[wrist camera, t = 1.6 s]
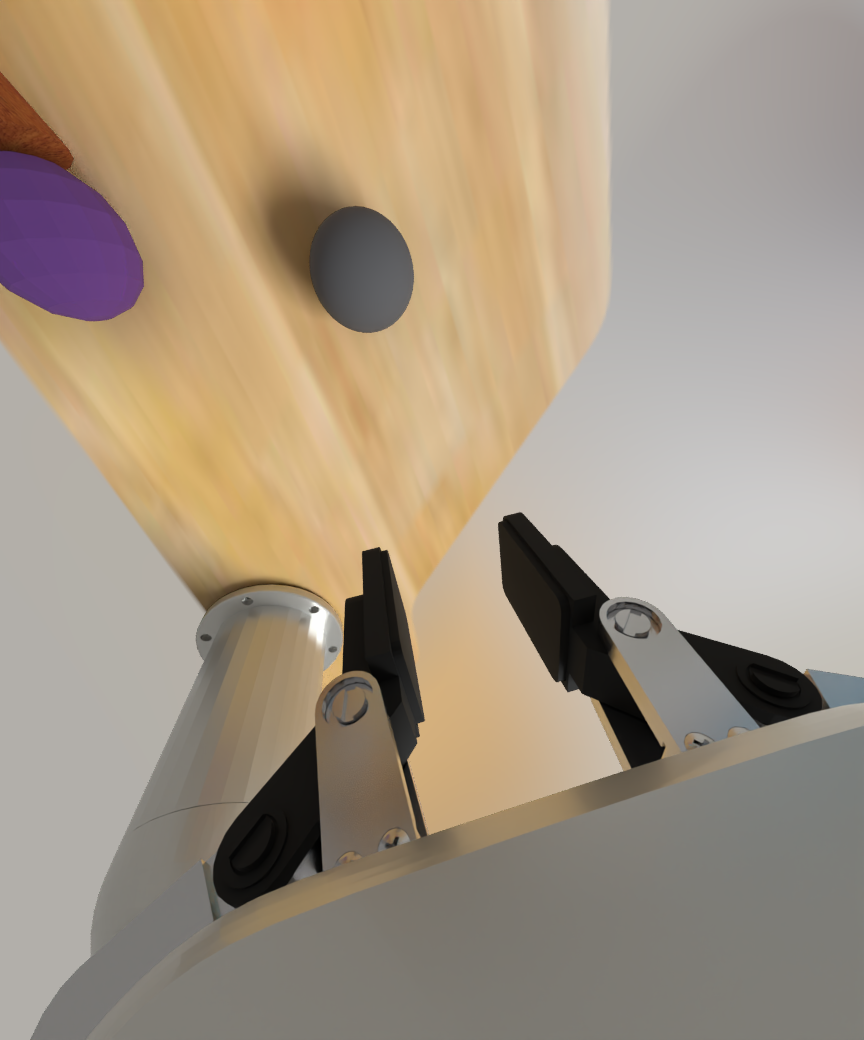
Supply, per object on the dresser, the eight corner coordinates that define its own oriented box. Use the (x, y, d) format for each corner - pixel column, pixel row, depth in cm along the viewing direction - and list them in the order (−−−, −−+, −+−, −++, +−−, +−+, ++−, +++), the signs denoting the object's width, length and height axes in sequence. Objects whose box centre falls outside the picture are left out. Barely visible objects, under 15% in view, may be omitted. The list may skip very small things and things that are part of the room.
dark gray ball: (414, 324, 22) (429, 322, 18) (331, 339, 22) (325, 342, 17) (396, 215, 20) (409, 179, 15) (301, 231, 19) (283, 199, 14)
